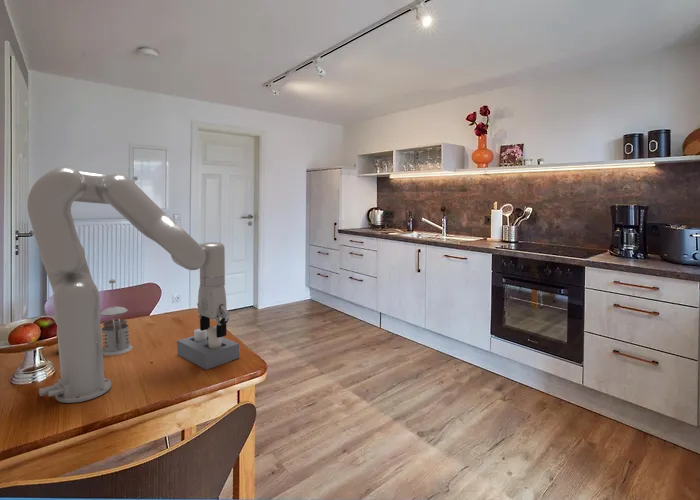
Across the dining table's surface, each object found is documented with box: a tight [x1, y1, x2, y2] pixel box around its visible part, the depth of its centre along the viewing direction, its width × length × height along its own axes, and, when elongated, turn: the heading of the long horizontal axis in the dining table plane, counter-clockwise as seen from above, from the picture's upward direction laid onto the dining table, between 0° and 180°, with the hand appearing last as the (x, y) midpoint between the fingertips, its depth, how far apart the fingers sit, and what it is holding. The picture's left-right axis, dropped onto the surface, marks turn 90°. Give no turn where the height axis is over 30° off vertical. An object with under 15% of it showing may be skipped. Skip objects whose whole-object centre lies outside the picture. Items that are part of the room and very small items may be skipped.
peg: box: [207, 325, 222, 350], centre depth 127 cm, size 4×4×10 cm
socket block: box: [176, 328, 240, 371], centre depth 131 cm, size 12×18×8 cm, turn 50°
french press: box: [100, 279, 134, 356], centre depth 134 cm, size 10×12×25 cm
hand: (213, 333), depth 127 cm, fingers open, 9 cm apart
